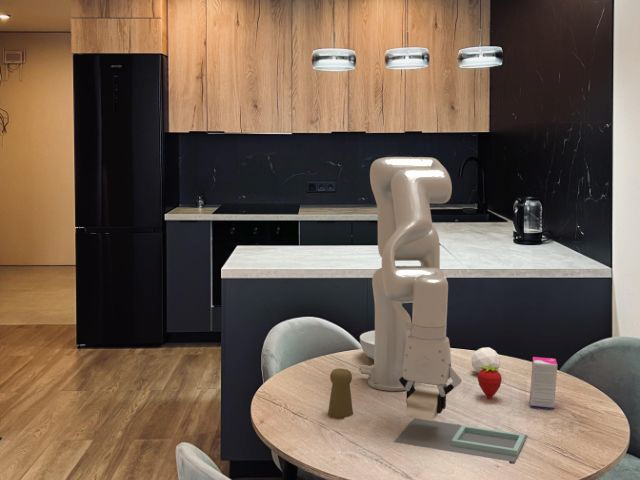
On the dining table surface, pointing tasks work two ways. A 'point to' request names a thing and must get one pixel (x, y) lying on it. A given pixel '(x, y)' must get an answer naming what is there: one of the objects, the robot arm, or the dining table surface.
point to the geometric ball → (485, 359)
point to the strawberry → (489, 380)
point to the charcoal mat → (443, 433)
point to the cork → (340, 394)
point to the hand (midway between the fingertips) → (425, 408)
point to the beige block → (423, 403)
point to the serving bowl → (368, 343)
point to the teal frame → (486, 447)
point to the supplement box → (543, 383)
